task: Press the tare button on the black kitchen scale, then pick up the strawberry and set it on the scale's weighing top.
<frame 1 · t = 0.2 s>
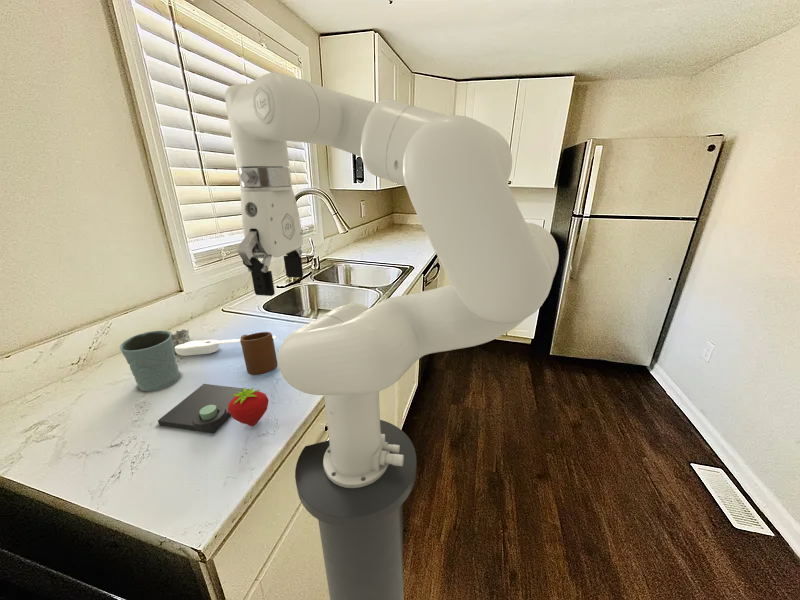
hand: (281, 285, 56), 31 cm above the worktop, tool pointing down, fingers open, 9 cm apart
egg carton: (177, 346, 99), on the worktop, touching spatula
tare button: (208, 412, 66), point 3 cm above the worktop, slide at 0.1 cm
scale: (209, 408, 73), on the worktop
spatula: (228, 350, 96), on the worktop, touching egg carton
green plant pot: (160, 382, 83), on the worktop
strawberry: (253, 426, 68), on the worktop
mug: (258, 369, 87), on the worktop
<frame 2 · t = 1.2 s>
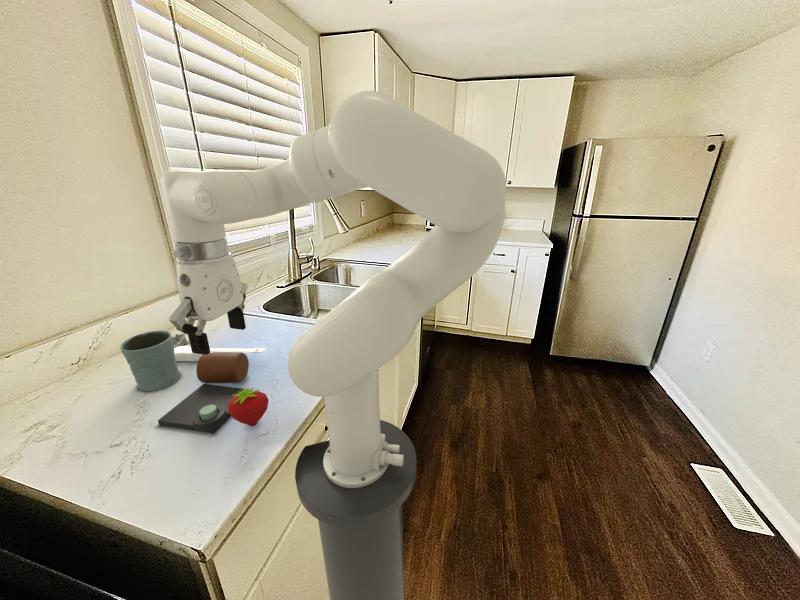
hand: (221, 339, 61), 20 cm above the worktop, tool pointing down, fingers open, 9 cm apart
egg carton: (172, 350, 98), on the worktop, touching spatula
spatula: (216, 359, 92), on the worktop, touching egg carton
mug: (247, 363, 83), point 3 cm above the worktop
everything else where it was.
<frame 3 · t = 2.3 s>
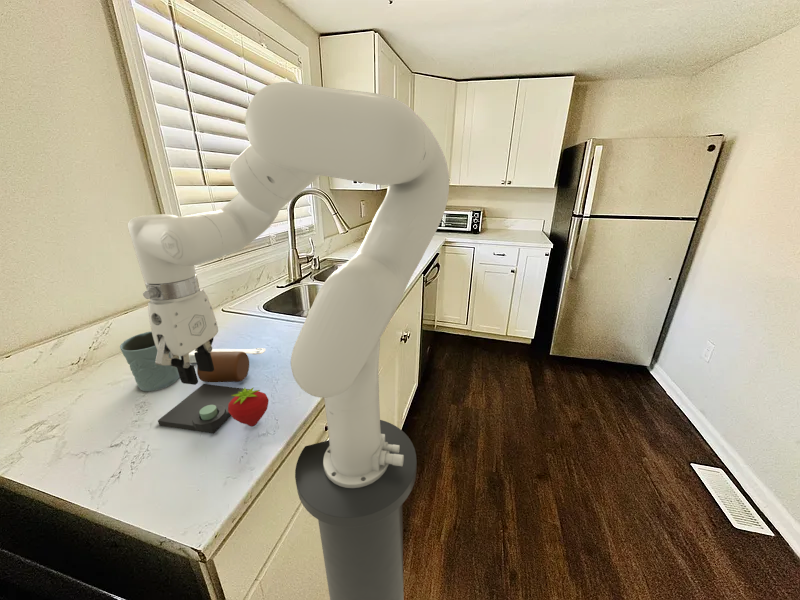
hand: (198, 375, 63), 12 cm above the worktop, tool pointing down, fingers open, 3 cm apart
spatula: (217, 359, 93), on the worktop, touching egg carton
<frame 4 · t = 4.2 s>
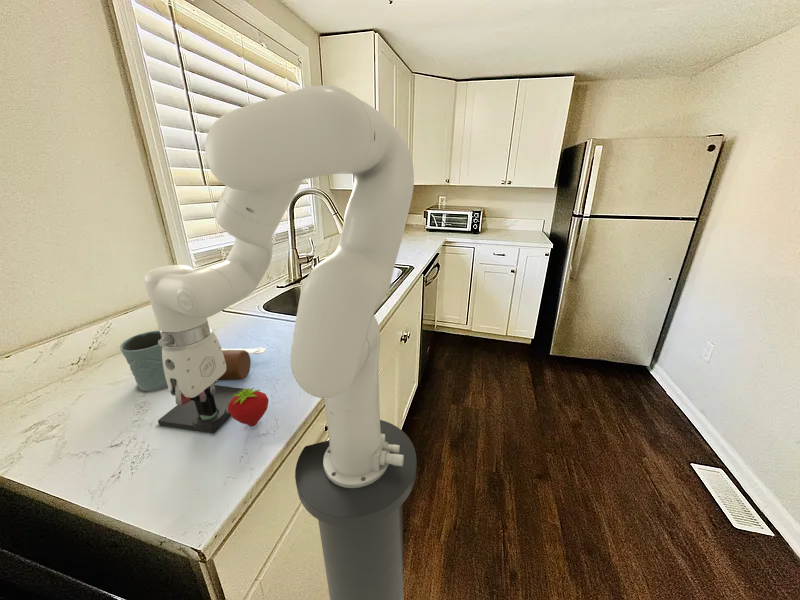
hand: (207, 412, 67), 3 cm above the worktop, tool pointing down, fingers closed
tare button: (209, 416, 67), point 3 cm above the worktop, slide at -0.8 cm, touching gripper
spatula: (217, 359, 93), on the worktop, touching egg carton
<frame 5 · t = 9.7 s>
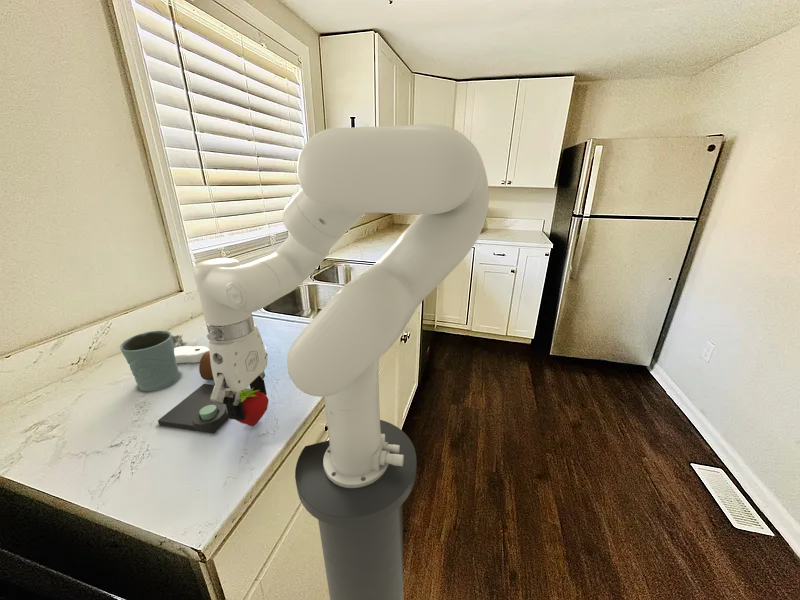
hand: (248, 405, 66), 5 cm above the worktop, tool pointing down, fingers closed on strawberry, 6 cm apart
tare button: (208, 412, 66), point 3 cm above the worktop, slide at 0.1 cm
strawberry: (253, 426, 68), on the worktop, touching gripper
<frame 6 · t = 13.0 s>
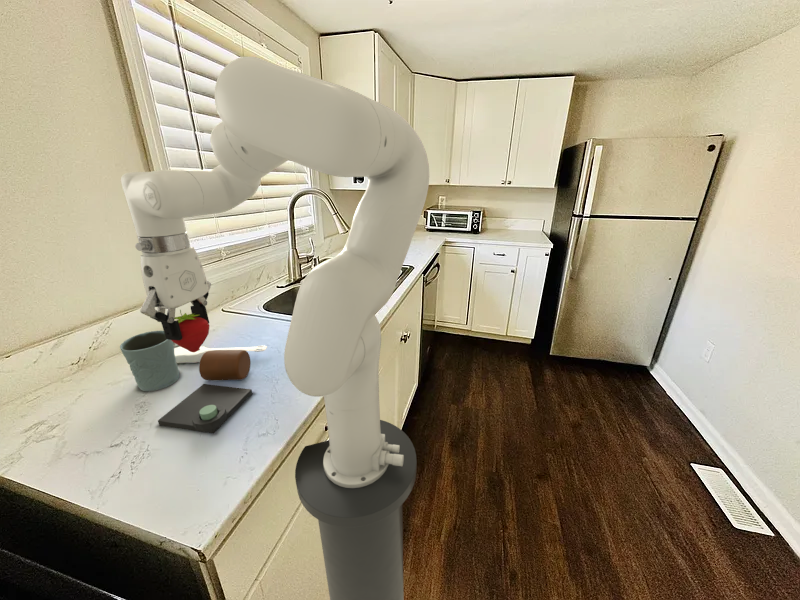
hand: (188, 330, 66), 19 cm above the worktop, tool pointing down, fingers closed on strawberry, 6 cm apart
strawberry: (195, 352, 68), point 14 cm above the worktop, touching gripper
when the fingers open (6 cm above the worktop, at t = 16.7 s): strawberry stays where it is, resting on scale.
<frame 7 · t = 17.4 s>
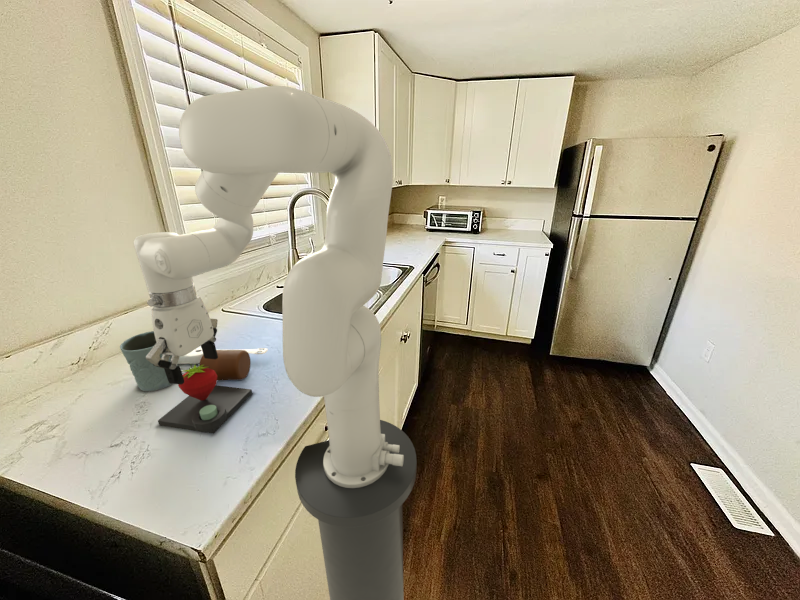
hand: (195, 370, 70), 9 cm above the worktop, tool pointing down, fingers open, 9 cm apart
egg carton: (170, 352, 97), on the worktop, touching spatula
spatula: (218, 360, 92), on the worktop, touching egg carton
strawberry: (204, 400, 73), point 1 cm above the worktop, touching scale
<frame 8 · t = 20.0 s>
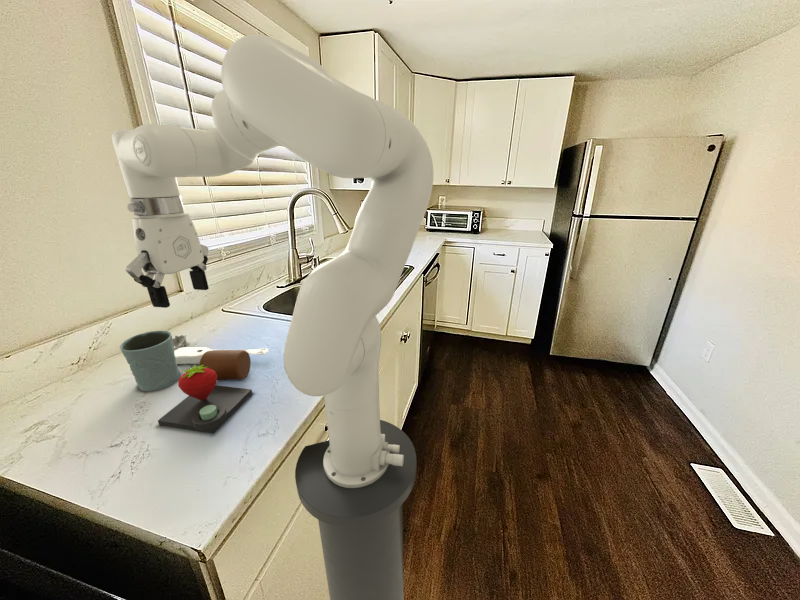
hand: (182, 297, 64), 26 cm above the worktop, tool pointing down, fingers open, 9 cm apart
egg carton: (172, 352, 97), on the worktop, touching spatula
at the end: tare button pushed in 0.9 cm at the most during the clip, back to where it started at the end; strawberry inside the target area on the scale (2.1 cm from its centre), point 1.2 cm above the scale's base; strawberry tilted 0° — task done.
